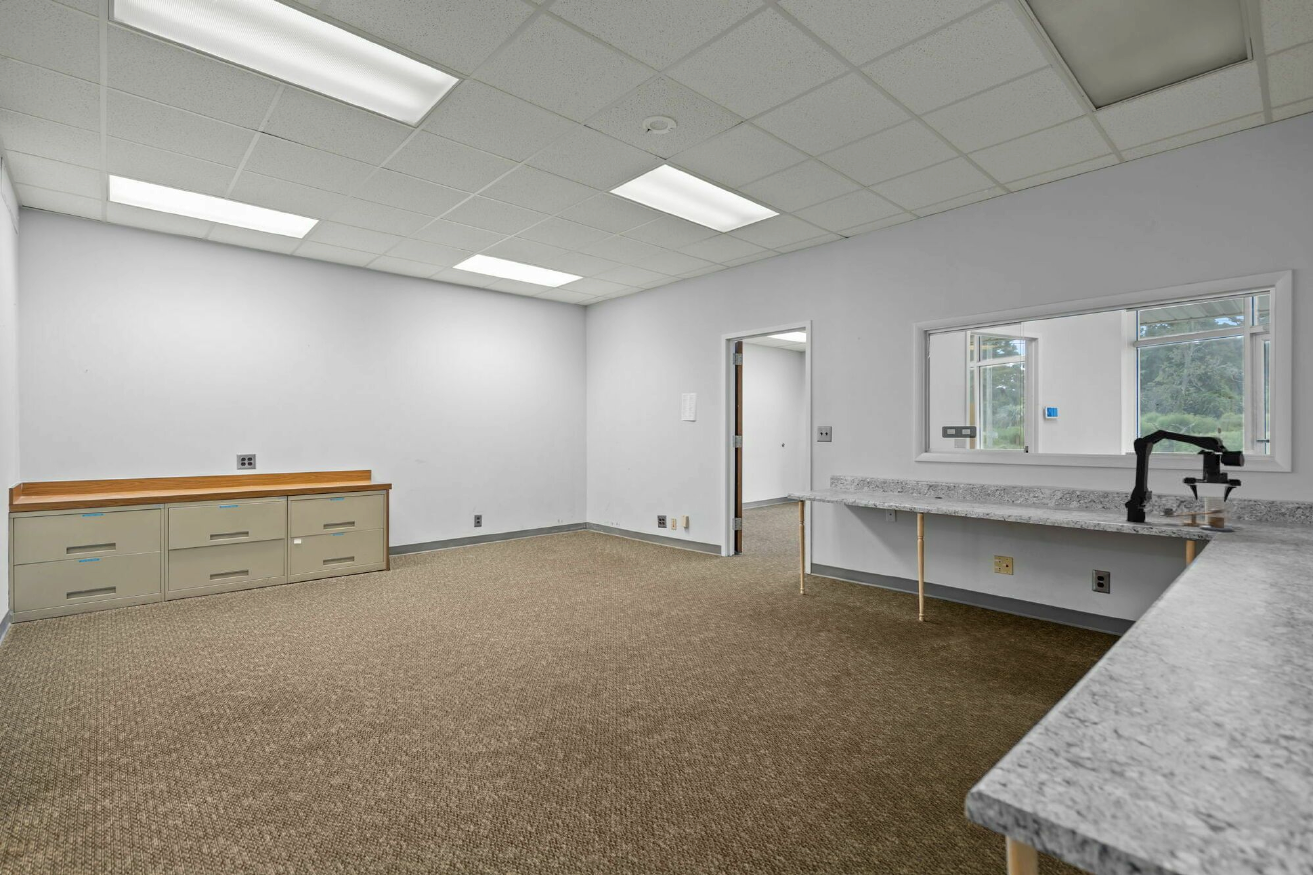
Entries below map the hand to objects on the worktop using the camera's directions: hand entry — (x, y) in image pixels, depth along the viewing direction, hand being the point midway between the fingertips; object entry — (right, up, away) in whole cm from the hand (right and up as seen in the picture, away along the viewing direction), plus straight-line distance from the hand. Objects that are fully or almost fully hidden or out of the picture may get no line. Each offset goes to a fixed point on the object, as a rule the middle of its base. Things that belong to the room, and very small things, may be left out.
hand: (1210, 501), depth 275 cm
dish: (0, -12, -3) cm, 12 cm away
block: (0, -11, -3) cm, 11 cm away
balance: (+2, -12, +11) cm, 16 cm away
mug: (+15, -12, +12) cm, 22 cm away
